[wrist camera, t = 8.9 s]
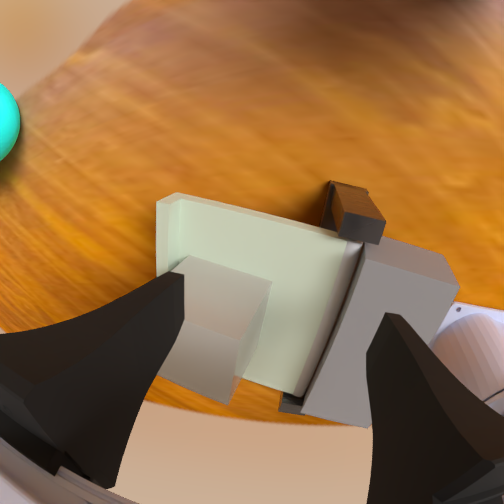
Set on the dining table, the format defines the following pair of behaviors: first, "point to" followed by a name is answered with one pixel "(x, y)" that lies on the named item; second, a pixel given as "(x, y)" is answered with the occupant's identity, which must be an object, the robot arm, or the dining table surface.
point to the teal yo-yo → (8, 121)
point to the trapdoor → (311, 295)
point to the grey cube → (216, 328)
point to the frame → (348, 226)
